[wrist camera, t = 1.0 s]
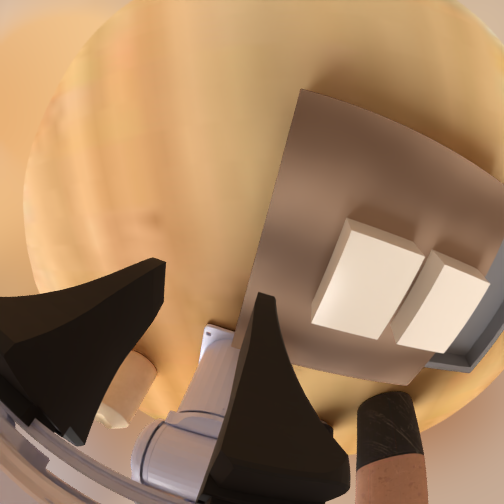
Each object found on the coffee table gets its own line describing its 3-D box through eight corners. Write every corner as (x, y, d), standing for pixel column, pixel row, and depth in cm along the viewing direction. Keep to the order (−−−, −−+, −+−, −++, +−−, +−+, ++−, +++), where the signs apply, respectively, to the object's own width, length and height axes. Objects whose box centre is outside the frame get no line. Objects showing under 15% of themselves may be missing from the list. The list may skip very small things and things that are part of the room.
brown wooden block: (399, 355, 23) (407, 385, 19) (242, 315, 24) (230, 346, 20) (490, 182, 14) (519, 196, 11) (301, 97, 15) (300, 88, 12)
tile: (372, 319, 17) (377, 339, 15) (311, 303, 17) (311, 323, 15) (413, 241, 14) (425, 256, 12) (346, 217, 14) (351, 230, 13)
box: (463, 359, 22) (469, 373, 20) (406, 348, 22) (411, 364, 20) (538, 232, 14) (550, 241, 12) (488, 195, 15) (503, 203, 13)
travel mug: (372, 387, 25) (376, 559, 7) (424, 391, 24) (445, 539, 7) (345, 420, 29) (335, 561, 11) (393, 423, 28) (398, 551, 10)
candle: (152, 355, 29) (113, 419, 20) (161, 383, 32) (129, 442, 23) (115, 344, 30) (74, 399, 21) (126, 371, 32) (92, 424, 24)
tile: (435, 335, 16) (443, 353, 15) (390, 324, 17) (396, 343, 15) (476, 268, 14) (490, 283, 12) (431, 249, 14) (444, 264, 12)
